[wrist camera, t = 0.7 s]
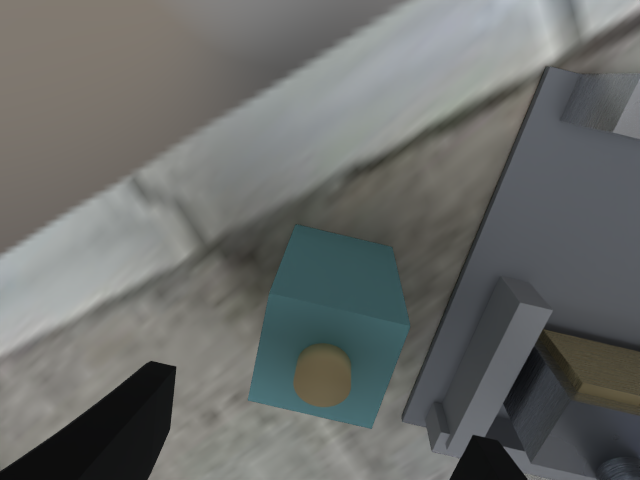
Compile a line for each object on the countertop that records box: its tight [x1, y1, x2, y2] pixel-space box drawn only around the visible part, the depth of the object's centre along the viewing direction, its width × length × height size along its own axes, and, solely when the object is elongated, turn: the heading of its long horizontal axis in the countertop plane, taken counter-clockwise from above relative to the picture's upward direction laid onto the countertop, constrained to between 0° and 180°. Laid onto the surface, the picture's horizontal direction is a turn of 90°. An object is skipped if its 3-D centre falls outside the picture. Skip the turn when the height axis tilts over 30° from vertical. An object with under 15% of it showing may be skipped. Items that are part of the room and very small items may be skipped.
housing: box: [248, 224, 410, 429], centre depth 14 cm, size 4×4×6 cm
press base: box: [402, 67, 640, 480], centre depth 15 cm, size 12×16×3 cm
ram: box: [503, 329, 640, 480], centre depth 13 cm, size 6×4×8 cm, turn 77°
